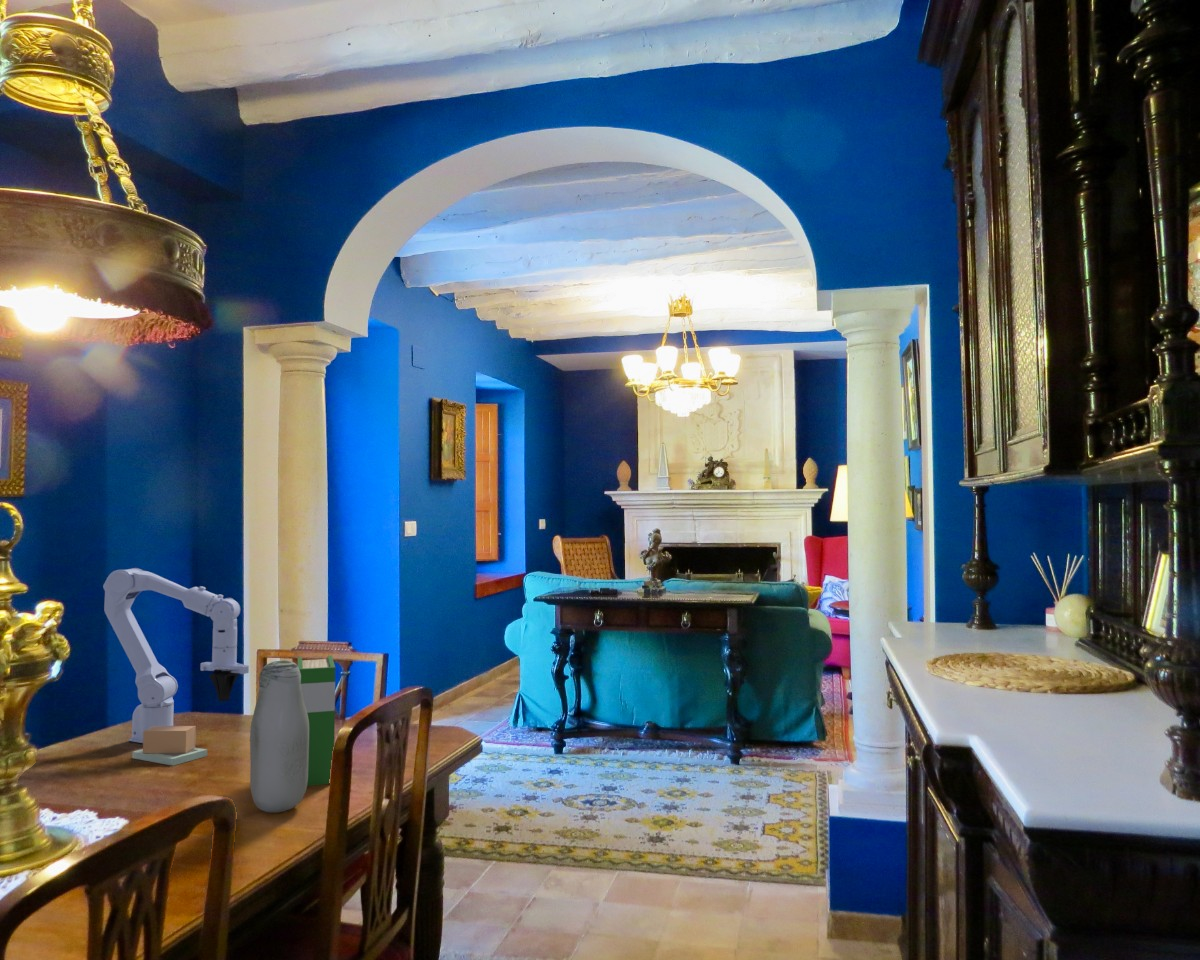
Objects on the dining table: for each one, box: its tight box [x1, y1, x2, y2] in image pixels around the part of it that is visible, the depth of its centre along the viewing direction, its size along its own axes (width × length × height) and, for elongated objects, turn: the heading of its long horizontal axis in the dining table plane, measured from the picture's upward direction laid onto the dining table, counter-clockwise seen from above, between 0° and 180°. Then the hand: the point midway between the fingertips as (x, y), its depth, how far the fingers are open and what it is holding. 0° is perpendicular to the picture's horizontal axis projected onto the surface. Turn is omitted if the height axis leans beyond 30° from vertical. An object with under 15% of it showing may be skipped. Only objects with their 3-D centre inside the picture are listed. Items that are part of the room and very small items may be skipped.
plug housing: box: [142, 725, 197, 753], centre depth 199 cm, size 10×5×5 cm, turn 91°
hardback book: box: [297, 655, 336, 787], centre depth 186 cm, size 18×7×24 cm, turn 20°
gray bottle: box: [249, 660, 309, 814], centre depth 162 cm, size 10×10×28 cm
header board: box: [131, 746, 208, 766], centre depth 199 cm, size 14×9×4 cm, turn 64°
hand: (223, 700), depth 216 cm, fingers closed
